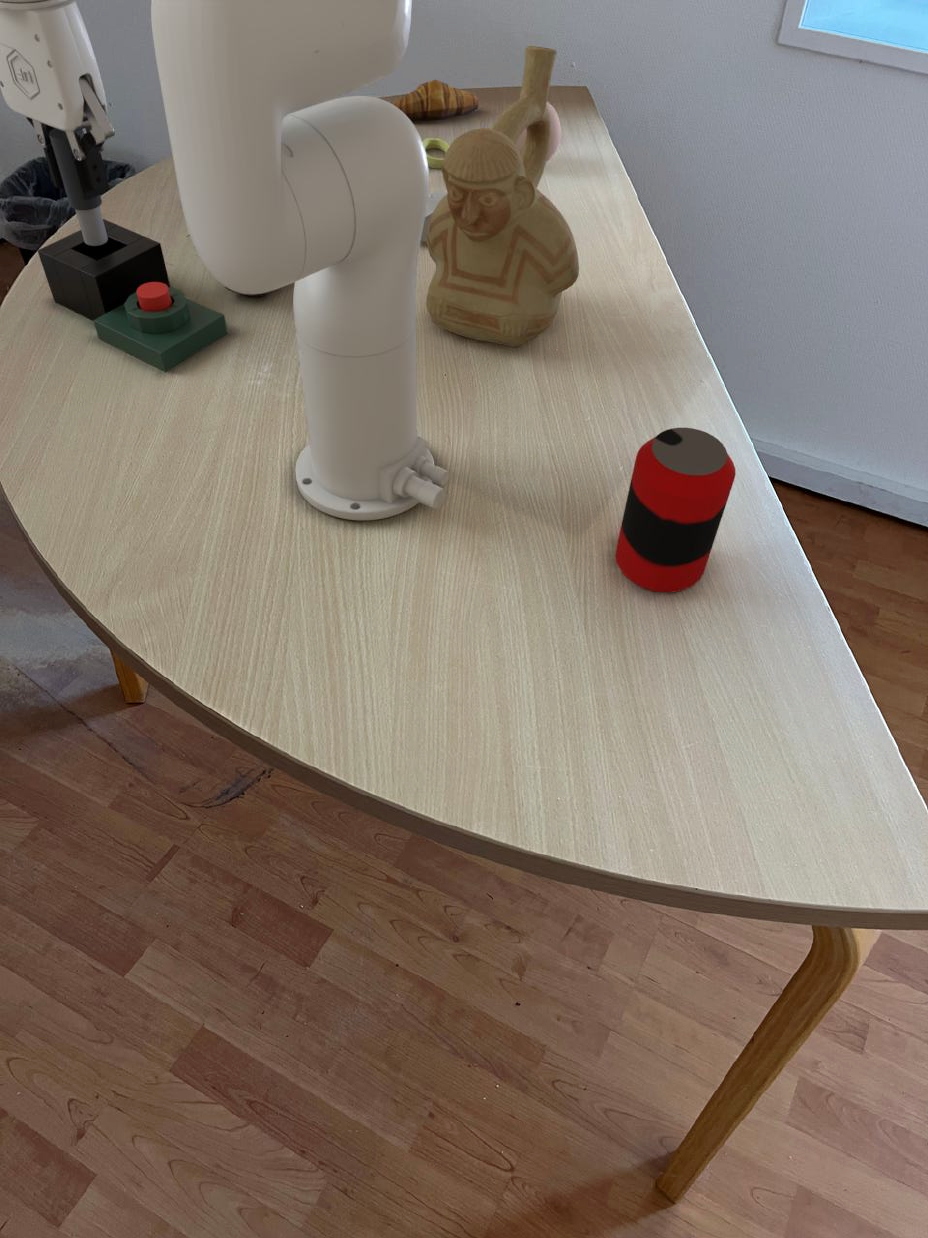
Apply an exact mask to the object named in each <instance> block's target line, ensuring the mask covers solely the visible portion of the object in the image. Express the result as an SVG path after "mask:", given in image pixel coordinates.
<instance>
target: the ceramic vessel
mask: <svg viewBox="0 0 928 1238" xmlns="http://www.w3.org/2000/svg"><path fill="white" fill-rule="evenodd" d="M524 51H525V53H524V64H523V65H524V67H523V76H522V80H521V87H520V93H519V99H518V100H517V101H515V102H513V103H512V104H511V105H510V106H509V107H507V108H506V109H505V111H503V112H502V113H501V114H500V115H499V117H498V118H497V120H496V122H494V124H493V126H492V127H491V128H488V127H481V128H475V129H474V128H473V129H471V130H468V131H466V132H463V133H462V134H461V135H459V136H457V137H456V138H455V139H454V140H453V141H452V142H451V144H449V145H450V147H449V148H448V150H447V152H445V154H444V157H443V158H444V163H443V164H442V165H441V173H442V178H443V181H444V185H445V189H446V193H447V195H445V196H444V197H443V198H442V199H441V200H440V202H439V203H438V205H437V207H436V208H435V210H434V212H433V214H432V217H431V219H430V222H429V227H428V232H427V243H426V246H427V251H428V254H429V256H430V258H431V260H432V261H433V263H434V264H435V270H434V274H433V276H432V278H431V281H430V283H429V286H428V290H427V294H426V302H425V304H426V310H427V313H428V315H429V316H430V318H431V321H432V323H434V324H435V325H436V326H438V327H439V328H442V329H444V330H447V331H449V332H451V333H453V334H456V335H458V336H462V337H464V338H468V339H473V340H477V341H483V342H489V343H494V344H498V345H499V344H500V345H505V346H508V347H511V348H519V347H521V346H522V344H524V343H526V342H529V341H531V340H533V339H535V338H537V337H538V336H539V335H541V334H542V333H544V332H545V331H546V330H547V329H548V328H549V327H550V325H552V323H553V321H554V319H555V318H556V315H557V313H558V310H559V308H560V303H561V299H562V294H563V292H564V291H566V290H568V289H569V288H571V287H572V286H573V285H574V284H575V283H576V282H577V280H578V278H579V276H580V263H579V254H578V248H577V245H576V241H575V238H574V234H573V232H572V230H571V228H570V225H569V224H568V222H567V220H566V219H565V217H564V215H563V213H562V212H561V211H560V210H559V209H558V208H557V207H556V205H554V203H553V201H551V200H550V199H549V198H548V197H547V196H545V195H544V194H543V193H542V192H541V191H540V190H539V189H538V187H539V184H540V182H541V179H542V177H543V175H544V172H545V168H546V164H547V162H546V160H547V155H548V151H549V146H550V133H551V127H550V114H549V110H548V108H547V102H548V97H549V92H550V86H551V80H552V73H553V69H554V66H555V62H556V57H557V54H558V52H557V49H554V48H548V47H542V46H534V45H526V47H525V50H524ZM525 128H526V130H527V134H526V142H525V147H524V151H523V154H522V157H521V155H520V152H519V150H518V148H517V147H516V146H515V145H516V143H517V141H518V139H519V137H520V135H521V134H522V132H523V131H524V129H525Z"/></svg>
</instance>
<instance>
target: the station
mask: <svg viewBox="0 0 928 1238" xmlns="http://www.w3.org/2000/svg"><path fill="white" fill-rule="evenodd" d="M168 288H169V293H170V297H171V301H172V305H171V307H169V308H167V309H166V310H163V311H158V312H146V311H143V310H142V309H141V308H140V304H139V300H138V296H137V293H136V292H135V293H134V294H132V295H130V296H129V297H128V299H127V300H126V302H125V303H124V304H122V305H121V306H119V307H117V308H115V309H113V310H112V311H110V312H108V313H106V314H104V315H102V316H101V317H99V318H97V319H95V320H94V321H93V324H94V328H95V330H96V334H97V337H98V339H99V340H100V341H103V342H105V344H109V345H111V346H112V347H114V348H117V349H119V350H120V351H123V352H124V353H127V354H129V355H131V356H133V357H134V358H137V359H139V360H140V361H142V362H145V363H147V364H149V365H150V366H153V367H155V368H157V369H159V370H161V371H163V372H168V371H169V370H170V369H172V368H174V367H176V366H177V365H179V364H180V363H182V362H184V361H185V360H187V359H188V358H190V357H192V356H193V355H195V354H196V353H198V352H199V351H201V350H203V349H205V348H206V347H207V346H209V345H211V344H212V343H214V342H216V341H217V340H219V339H220V338H222V337H224V336H225V335H227V334H228V327H227V323H226V318H225V317H226V316H225V314H223V313H221V312H219V311H216V310H215V309H212V308H210V307H207V306H205V305H203V304H201V303H199V302H197V301H195V300H193V299H190V298H188V297H186V296H185V294H184V292H182V291H181V290H179V289H176V288H174V287H171V286H170V287H168Z"/></svg>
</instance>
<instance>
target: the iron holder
mask: <svg viewBox="0 0 928 1238" xmlns="http://www.w3.org/2000/svg"><path fill="white" fill-rule="evenodd" d="M102 219H103V222H104V226H105V230H106V233H107V237H108V241H107V242H106V243H104V244H102V245H99V246H90V245H87V244H86V243H85V242H84V238H83V235H82V231H81V229H79V230H77V231H76V232H75V231H74V232H73V233H71V234H69V235H66V236H65V237H63V238H60V239H59V240H57V241H55V242H52V243H50V244H48V245H46V246H44V247H42V248H39V249H38V250H37V252H38V257H39V260H40V262H41V265H42V268H43V271H44V274H45V277H46V280H47V284H48V286H49V288H50V289H49V290H50V293H51V295H52V298H53V302H54V303H56V304H58V305H60V306H62V307H64V308H66V309H69V310H70V311H73V312H75V313H76V314H79V315H81V316H83V317H85V318H86V319H89V320H91V321H92V322H94V320H95V319H97V318H99V317H101V316H102V315H104V314H106V313H108V312H110V311H112V310H113V309H115V308H117V307H119V306H121V305H122V304H124V303H125V302H126V300H127V299H128V297H129V296H130V295H132V294H134V293H135V292H136V291H137V288H138V287H139V286H141V285H143V284H145V283H149V282H161V283H164V284H166V285H167V286H168V287H171V284H170V279H169V275H168V271H167V266H166V262H165V258H164V252H163V249H162V244H161V243H160V242H159V241H157V240H155V239H151V238H149V237H147V236H145V235H143V234H140V233H137V232H135V231H132V230H130V229H129V228H125V227H124V226H121V225H118V224H116V223H114V222H112V221H109V220H107V219H105V218H102Z"/></svg>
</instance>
